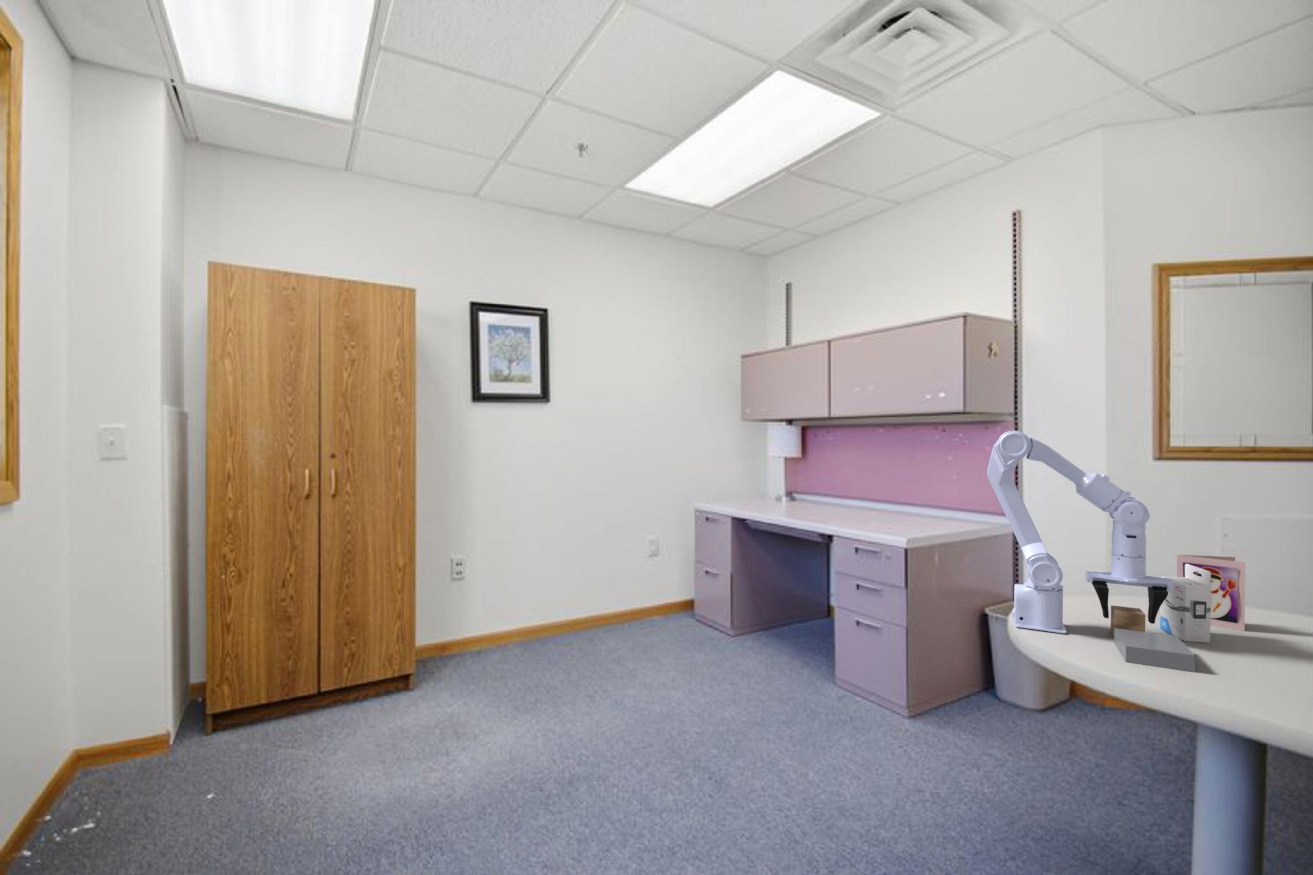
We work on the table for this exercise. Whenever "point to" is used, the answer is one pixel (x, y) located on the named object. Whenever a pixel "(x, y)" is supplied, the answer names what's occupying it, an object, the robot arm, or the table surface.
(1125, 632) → the gray rectangular slab
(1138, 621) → the walnut block
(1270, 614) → the table surface
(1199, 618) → the ink box
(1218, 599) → the greeting card
